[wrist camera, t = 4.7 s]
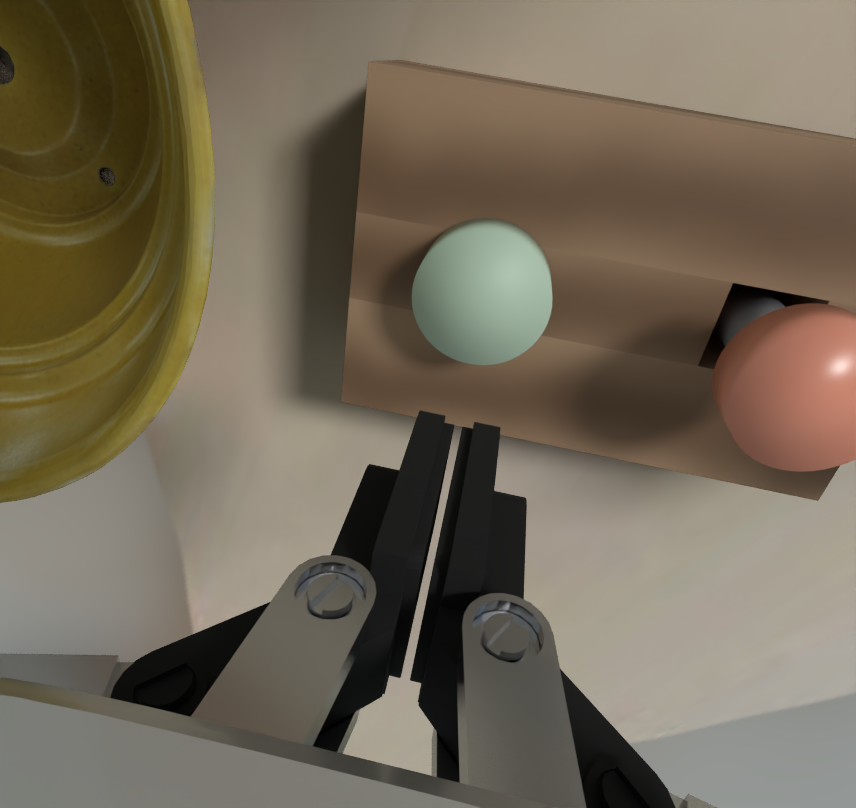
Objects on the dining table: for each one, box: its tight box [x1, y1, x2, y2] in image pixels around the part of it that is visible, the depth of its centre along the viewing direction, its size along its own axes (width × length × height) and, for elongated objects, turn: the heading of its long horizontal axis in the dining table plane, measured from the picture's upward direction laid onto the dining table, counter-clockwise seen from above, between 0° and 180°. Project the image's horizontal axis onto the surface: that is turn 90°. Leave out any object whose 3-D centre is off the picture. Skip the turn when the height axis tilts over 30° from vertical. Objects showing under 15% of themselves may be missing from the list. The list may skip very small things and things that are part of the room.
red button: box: [712, 286, 856, 472], centre depth 22 cm, size 5×5×8 cm
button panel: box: [341, 60, 856, 501], centre depth 27 cm, size 14×22×6 cm, turn 81°
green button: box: [412, 218, 552, 365], centre depth 26 cm, size 5×5×8 cm
